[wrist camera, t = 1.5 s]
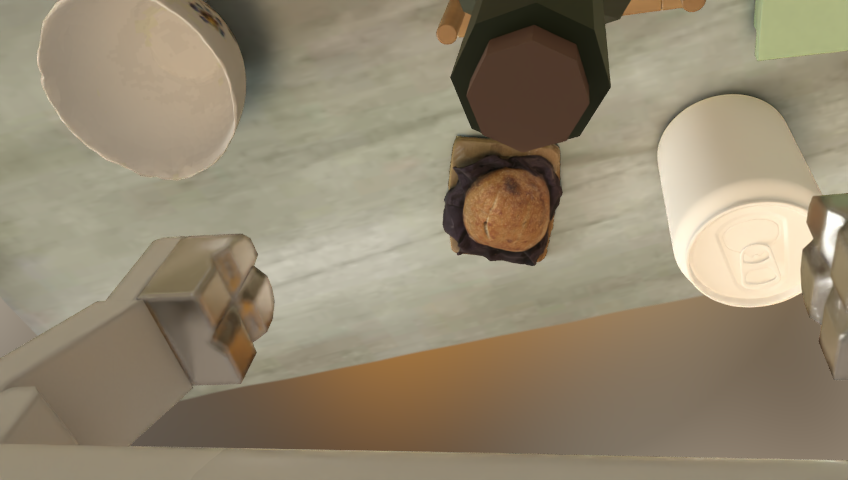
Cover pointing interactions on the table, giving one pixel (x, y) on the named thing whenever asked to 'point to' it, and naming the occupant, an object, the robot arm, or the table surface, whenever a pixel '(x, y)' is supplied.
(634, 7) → the dish rack
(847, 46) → the green low rectangular block
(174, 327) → the robot arm
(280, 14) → the table surface
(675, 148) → the beverage can
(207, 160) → the teacup
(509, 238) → the bread roll
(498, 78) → the wine bottle
